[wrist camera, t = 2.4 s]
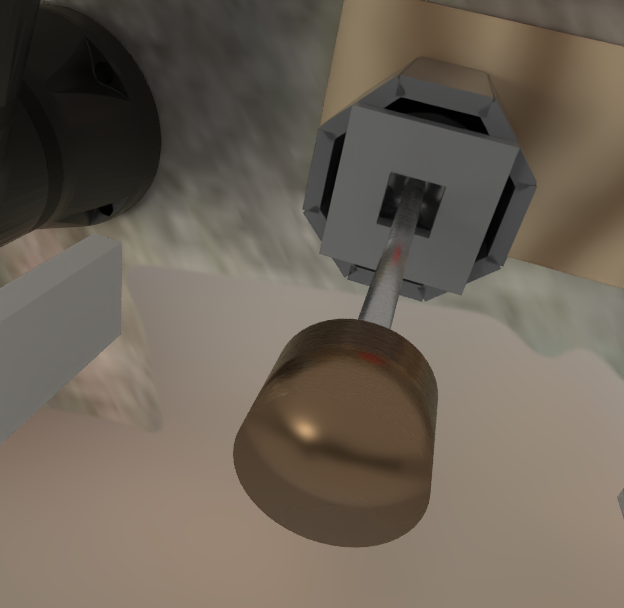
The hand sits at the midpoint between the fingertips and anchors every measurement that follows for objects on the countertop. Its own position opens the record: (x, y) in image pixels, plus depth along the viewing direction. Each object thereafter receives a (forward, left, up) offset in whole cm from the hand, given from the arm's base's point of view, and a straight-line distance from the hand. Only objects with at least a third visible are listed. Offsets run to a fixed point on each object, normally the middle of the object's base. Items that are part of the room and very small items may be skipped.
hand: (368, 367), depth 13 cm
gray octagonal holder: (0, -1, -24) cm, 24 cm away
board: (+4, +1, -25) cm, 26 cm away
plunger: (0, 0, -16) cm, 16 cm away
